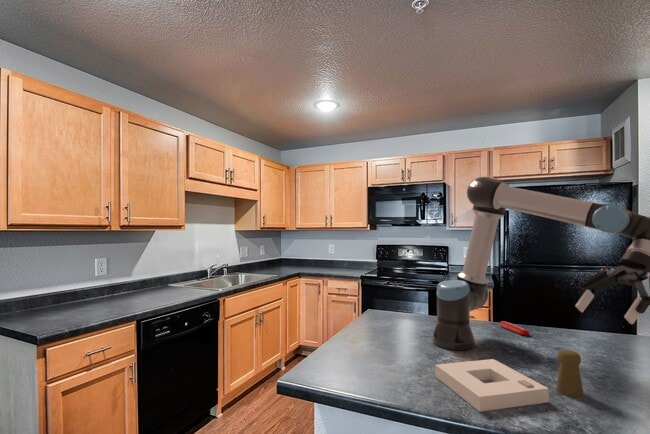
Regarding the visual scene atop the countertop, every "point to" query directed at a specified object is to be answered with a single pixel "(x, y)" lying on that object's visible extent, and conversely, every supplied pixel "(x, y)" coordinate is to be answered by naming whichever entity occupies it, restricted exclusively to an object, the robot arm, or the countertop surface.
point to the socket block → (491, 384)
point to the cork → (569, 374)
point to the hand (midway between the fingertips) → (601, 314)
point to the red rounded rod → (514, 328)
